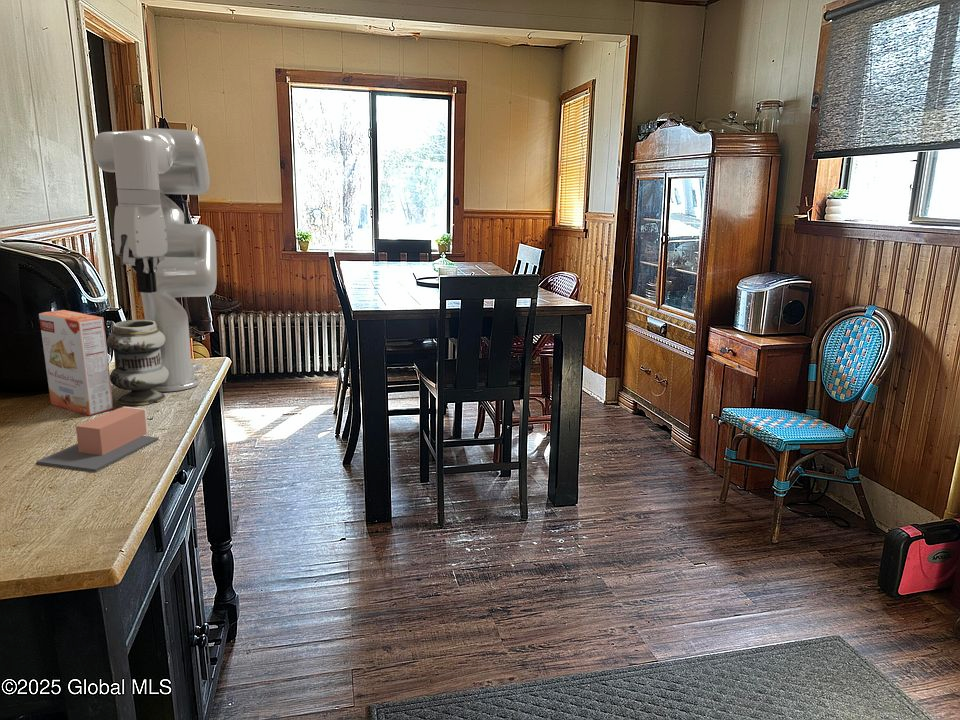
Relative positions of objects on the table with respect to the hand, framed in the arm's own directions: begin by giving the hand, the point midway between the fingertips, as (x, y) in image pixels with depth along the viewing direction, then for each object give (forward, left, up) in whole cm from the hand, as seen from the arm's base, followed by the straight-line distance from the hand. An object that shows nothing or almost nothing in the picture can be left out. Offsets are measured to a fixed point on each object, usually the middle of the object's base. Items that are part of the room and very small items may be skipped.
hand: (147, 291), depth 134 cm
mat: (+19, +3, -27) cm, 33 cm away
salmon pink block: (+9, +3, -24) cm, 26 cm away
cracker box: (-1, -20, -27) cm, 34 cm away
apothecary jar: (-10, -12, -27) cm, 31 cm away
